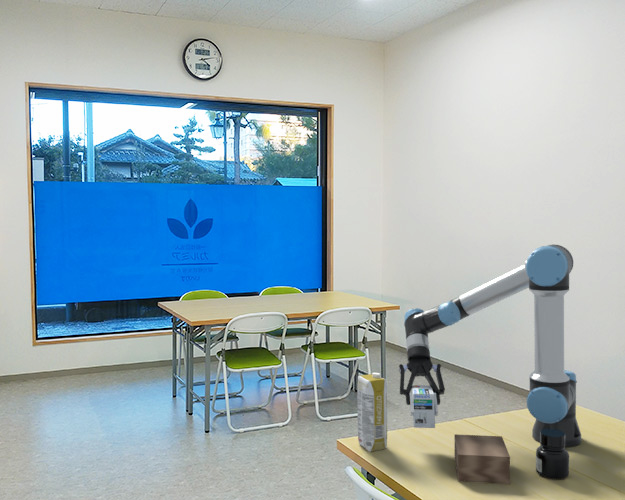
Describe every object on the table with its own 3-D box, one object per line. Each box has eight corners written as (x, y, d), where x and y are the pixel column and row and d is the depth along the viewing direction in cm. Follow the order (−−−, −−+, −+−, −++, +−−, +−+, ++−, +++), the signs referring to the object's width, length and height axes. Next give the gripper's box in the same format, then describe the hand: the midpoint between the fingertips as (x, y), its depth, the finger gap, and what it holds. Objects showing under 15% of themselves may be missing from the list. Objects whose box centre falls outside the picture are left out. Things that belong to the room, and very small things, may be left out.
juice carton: (390, 449, 197) (389, 375, 196) (368, 453, 194) (367, 378, 193) (376, 439, 206) (375, 368, 205) (355, 443, 203) (354, 371, 202)
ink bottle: (542, 464, 184) (542, 425, 183) (573, 471, 178) (573, 431, 178) (530, 475, 177) (531, 434, 176) (562, 483, 171) (563, 441, 170)
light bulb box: (435, 428, 190) (435, 394, 189) (413, 428, 191) (412, 394, 190) (432, 417, 201) (432, 384, 200) (411, 417, 201) (411, 384, 201)
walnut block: (501, 462, 187) (502, 436, 186) (510, 485, 171) (510, 457, 170) (454, 460, 189) (454, 434, 189) (458, 482, 173) (458, 454, 173)
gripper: (446, 356, 209) (455, 419, 194) (388, 357, 211) (392, 419, 195) (448, 344, 204) (457, 407, 188) (388, 344, 205) (392, 408, 190)
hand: (424, 413), depth 192 cm, fingers closed on light bulb box, 7 cm apart
